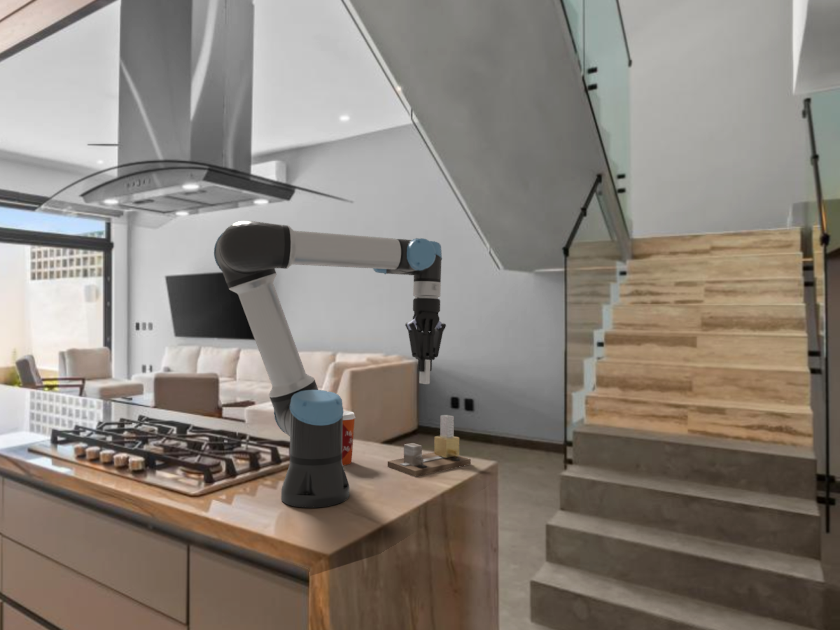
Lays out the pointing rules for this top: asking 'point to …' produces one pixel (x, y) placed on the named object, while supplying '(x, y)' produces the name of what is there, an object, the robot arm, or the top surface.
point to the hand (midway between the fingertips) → (424, 383)
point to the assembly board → (424, 461)
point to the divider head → (446, 438)
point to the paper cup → (347, 437)
